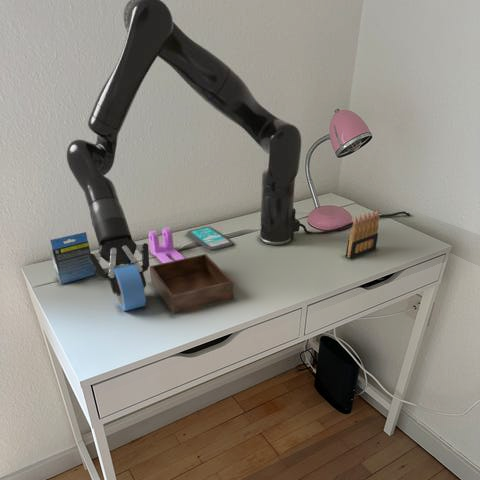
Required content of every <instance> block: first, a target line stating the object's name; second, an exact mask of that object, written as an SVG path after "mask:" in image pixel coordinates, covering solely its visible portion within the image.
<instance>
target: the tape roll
mask: <svg viewBox="0 0 480 480" xmlns="http://www.w3.org/2000/svg"><path fill="white" fill-rule="evenodd" d="M114 272H115V278H116V279H117V283H118V286H119V289H120V293H121V294H120V296H117V295H116V298H117V301H118V304H119V306H120V308H121V311H123V312H128V311H131V310H135V309H140V308H142V307H145V306H146V299H147V298H146V292H145V288H144V286H143V282H142V279H141V276H140V273H139V271H138V269H137V267H136V265H135V264H130V265H129V264H124V265H120V266H115V268H114Z"/></svg>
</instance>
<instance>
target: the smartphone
mask: <svg viewBox="0 0 480 480" xmlns="http://www.w3.org/2000/svg"><path fill="white" fill-rule="evenodd" d="M186 235H187V236H188V237H189V238H190V239H192V240H193V241H195V242H196V243H197V244H199V245H200V246H202V247H204V248H205V249H206V250H208V251H210V252H215V251H219V250H223V249H226V248H229V247H233V246H234V242H233V241H232V240H231V239H229V238H228V237H227V236H225V235H224V234H222V233H220V232H219V231H218V230H216V229H215V228H213V227H211V226H203V227H199V228H194V229H191V230H188V231H187V234H186Z"/></svg>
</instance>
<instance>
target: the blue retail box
mask: <svg viewBox="0 0 480 480" xmlns="http://www.w3.org/2000/svg"><path fill="white" fill-rule="evenodd" d="M69 240H70V242H68V241H69ZM72 240H74V241H72ZM65 242H66V243H65ZM50 245H51V248H52V249H50V255H51V259H52V263H53V267H54V270H55V275H56V278H57V280H58V282H59V283H60V284H61V285H65V284H68V283H71V282H75V281H78V280H81V279H85V278H87V277H90V276H94V275H96V271H95V270H94V268H93V266H92V265H91V263H90V262H89V255H90V254H92V253H91V248H90V243H89V240H88V235H87V232H86V231H84V232H80V233H76V234H70V235H67V236H63V237H57V238H52V239H50Z"/></svg>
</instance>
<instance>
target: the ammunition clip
mask: <svg viewBox="0 0 480 480" xmlns="http://www.w3.org/2000/svg"><path fill="white" fill-rule="evenodd" d="M379 215H380V209H377V210H376V212H375V210H373V211H372V213H371V212H368V213H367V215H366V213H364V215H363V216H362V215H361V214H360V215H359V217H357V216H355V217H354V218H353V221H352V222H353V225H351V226H352V227H351V229H350V236H349V239H348V240H347V246H346V251H345V258H347V259H349V260H353V259H356V258H358V257H361V256H363V255H365V254H368V253H370V252H374V251H376V250H377V244H378V237H379V233H378V232H379V231H378V230H379V224H380V223H379V221H380V217H379ZM366 217H367V218H366ZM357 220H358V222H357Z"/></svg>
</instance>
